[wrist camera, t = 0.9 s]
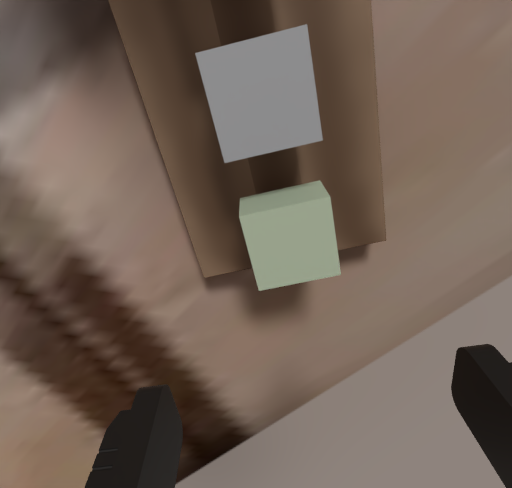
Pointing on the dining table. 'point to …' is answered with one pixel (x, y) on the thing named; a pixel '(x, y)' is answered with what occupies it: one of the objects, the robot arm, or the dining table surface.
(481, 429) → the robot arm
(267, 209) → the sage key
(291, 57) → the grey squarish block
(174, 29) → the key panel
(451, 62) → the dining table surface
